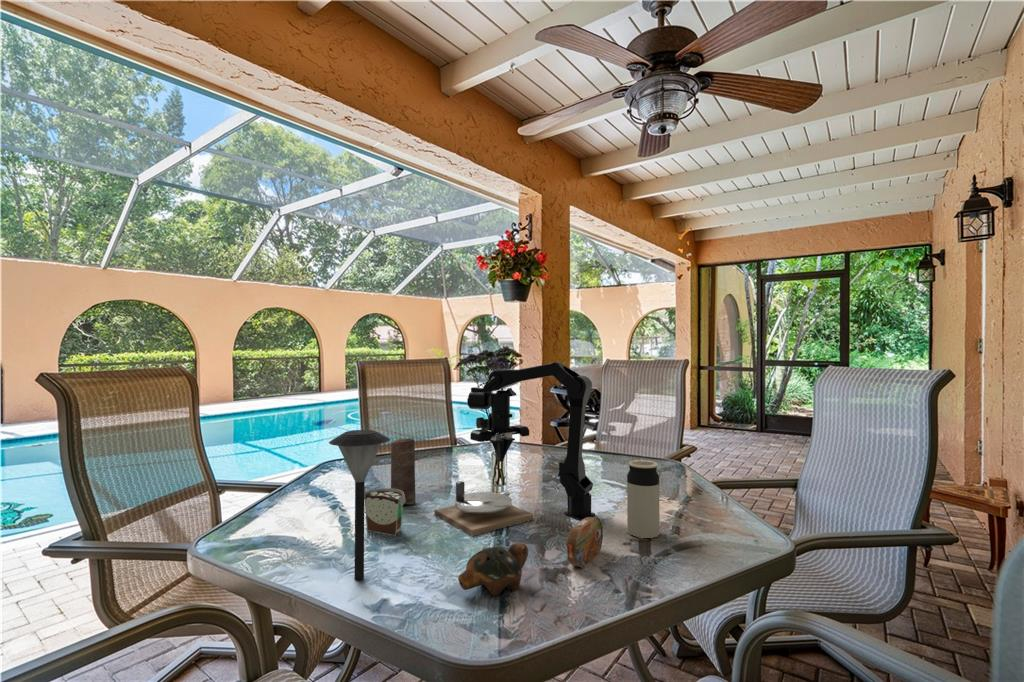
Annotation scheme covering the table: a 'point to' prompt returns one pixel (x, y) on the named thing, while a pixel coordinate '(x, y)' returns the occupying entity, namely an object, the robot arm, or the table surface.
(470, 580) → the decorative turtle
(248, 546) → the table surface
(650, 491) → the travel mug
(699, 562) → the table surface
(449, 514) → the base plate
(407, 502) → the candle
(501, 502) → the handwheel
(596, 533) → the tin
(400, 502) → the food container
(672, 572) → the table surface
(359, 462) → the solar garden light
